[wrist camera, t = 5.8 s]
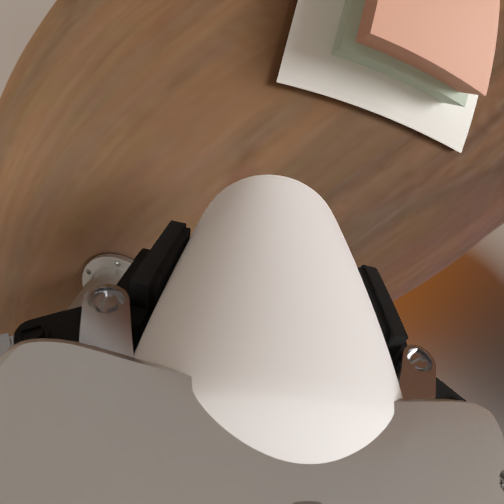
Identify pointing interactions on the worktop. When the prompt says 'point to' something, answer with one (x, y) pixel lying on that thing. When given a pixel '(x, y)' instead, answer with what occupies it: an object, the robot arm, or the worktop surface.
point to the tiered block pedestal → (397, 58)
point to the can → (276, 326)
